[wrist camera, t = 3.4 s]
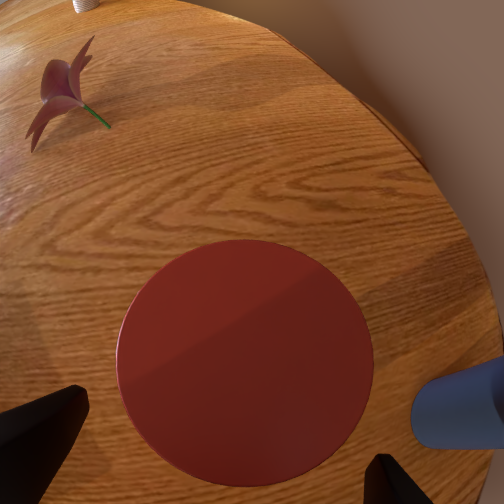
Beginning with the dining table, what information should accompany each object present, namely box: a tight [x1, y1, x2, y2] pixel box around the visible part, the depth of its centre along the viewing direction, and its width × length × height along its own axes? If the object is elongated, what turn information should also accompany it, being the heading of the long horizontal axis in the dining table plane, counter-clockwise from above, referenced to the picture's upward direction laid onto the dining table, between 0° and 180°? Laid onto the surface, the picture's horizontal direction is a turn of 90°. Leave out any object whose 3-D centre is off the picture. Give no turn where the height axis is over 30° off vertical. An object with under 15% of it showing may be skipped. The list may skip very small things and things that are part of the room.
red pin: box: [116, 240, 374, 487], centre depth 11 cm, size 5×5×13 cm
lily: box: [25, 35, 111, 153], centre depth 24 cm, size 12×12×10 cm
